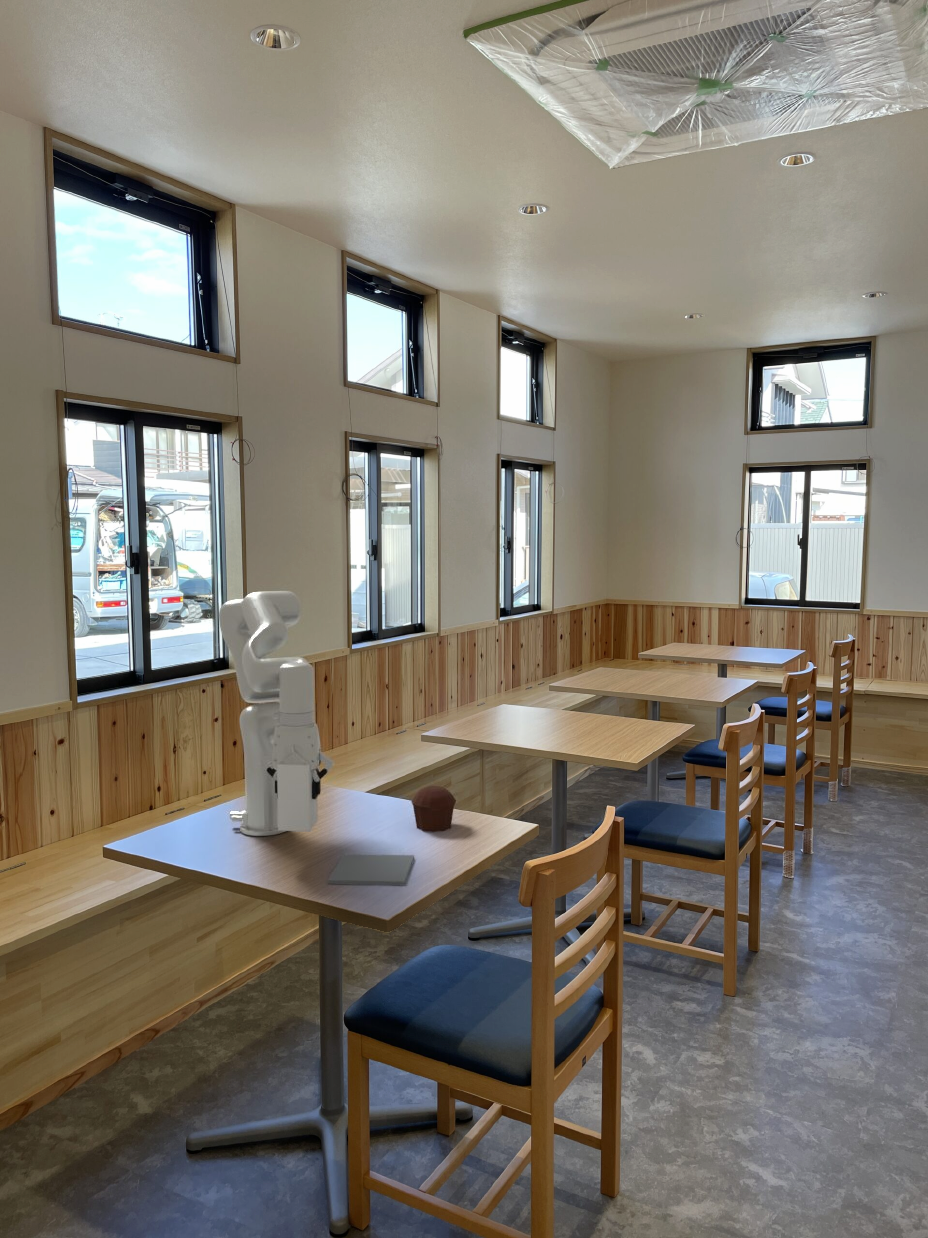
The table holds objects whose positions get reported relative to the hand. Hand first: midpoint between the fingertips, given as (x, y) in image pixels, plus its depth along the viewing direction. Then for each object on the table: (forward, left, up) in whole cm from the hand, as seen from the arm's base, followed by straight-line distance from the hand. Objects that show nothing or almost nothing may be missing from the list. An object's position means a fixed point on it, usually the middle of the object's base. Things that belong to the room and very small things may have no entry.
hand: (297, 796), depth 197 cm
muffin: (+27, +27, -15) cm, 42 cm away
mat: (+17, -5, -15) cm, 23 cm away
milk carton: (0, 0, -7) cm, 7 cm away
